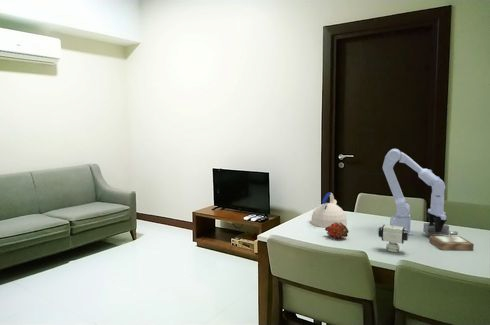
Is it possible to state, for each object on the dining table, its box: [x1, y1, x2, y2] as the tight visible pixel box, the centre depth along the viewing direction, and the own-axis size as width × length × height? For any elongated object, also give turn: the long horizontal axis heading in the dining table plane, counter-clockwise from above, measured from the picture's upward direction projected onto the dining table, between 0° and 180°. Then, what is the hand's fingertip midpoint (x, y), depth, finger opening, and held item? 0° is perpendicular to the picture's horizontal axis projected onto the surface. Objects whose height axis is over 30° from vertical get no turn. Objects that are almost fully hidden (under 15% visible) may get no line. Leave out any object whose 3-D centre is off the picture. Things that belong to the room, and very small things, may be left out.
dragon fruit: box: [324, 222, 349, 240], centre depth 172 cm, size 8×8×12 cm
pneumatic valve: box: [378, 224, 409, 253], centre depth 153 cm, size 6×12×12 cm, turn 60°
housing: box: [422, 222, 450, 236], centre depth 173 cm, size 10×5×5 cm, turn 86°
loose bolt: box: [449, 230, 459, 236], centre depth 176 cm, size 7×2×2 cm, turn 106°
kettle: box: [310, 192, 348, 228], centre depth 198 cm, size 20×21×18 cm
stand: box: [428, 235, 475, 251], centre depth 159 cm, size 14×11×3 cm
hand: (435, 230), depth 173 cm, fingers closed on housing, 5 cm apart
